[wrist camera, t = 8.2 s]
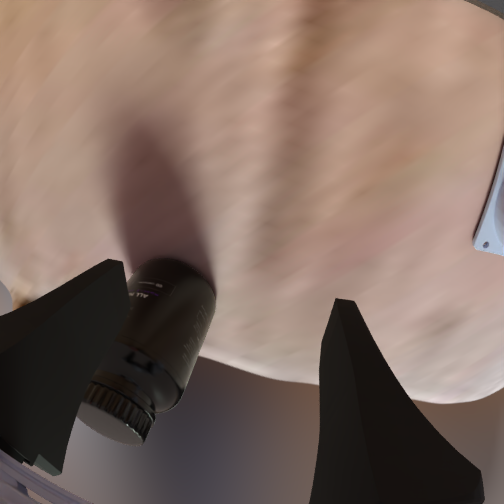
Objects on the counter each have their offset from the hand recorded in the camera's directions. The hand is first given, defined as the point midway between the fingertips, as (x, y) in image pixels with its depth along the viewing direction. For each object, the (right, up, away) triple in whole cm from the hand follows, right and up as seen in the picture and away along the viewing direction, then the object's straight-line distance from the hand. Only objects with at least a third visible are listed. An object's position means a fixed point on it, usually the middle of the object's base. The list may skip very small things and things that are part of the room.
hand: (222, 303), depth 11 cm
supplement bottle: (-5, -1, +14) cm, 15 cm away
